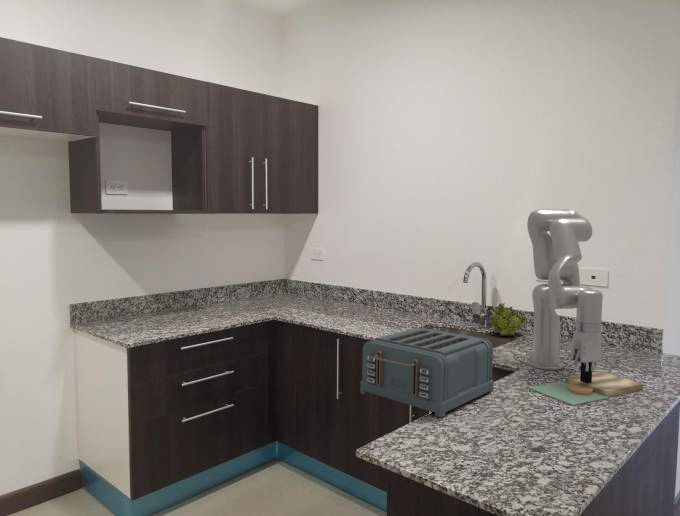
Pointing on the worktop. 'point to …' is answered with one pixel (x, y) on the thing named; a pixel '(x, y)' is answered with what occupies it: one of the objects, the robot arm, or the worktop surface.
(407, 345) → the toaster
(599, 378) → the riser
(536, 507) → the worktop surface
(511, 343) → the worktop surface
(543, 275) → the robot arm
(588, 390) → the brown round disc
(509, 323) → the lettuce head
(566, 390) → the mat
